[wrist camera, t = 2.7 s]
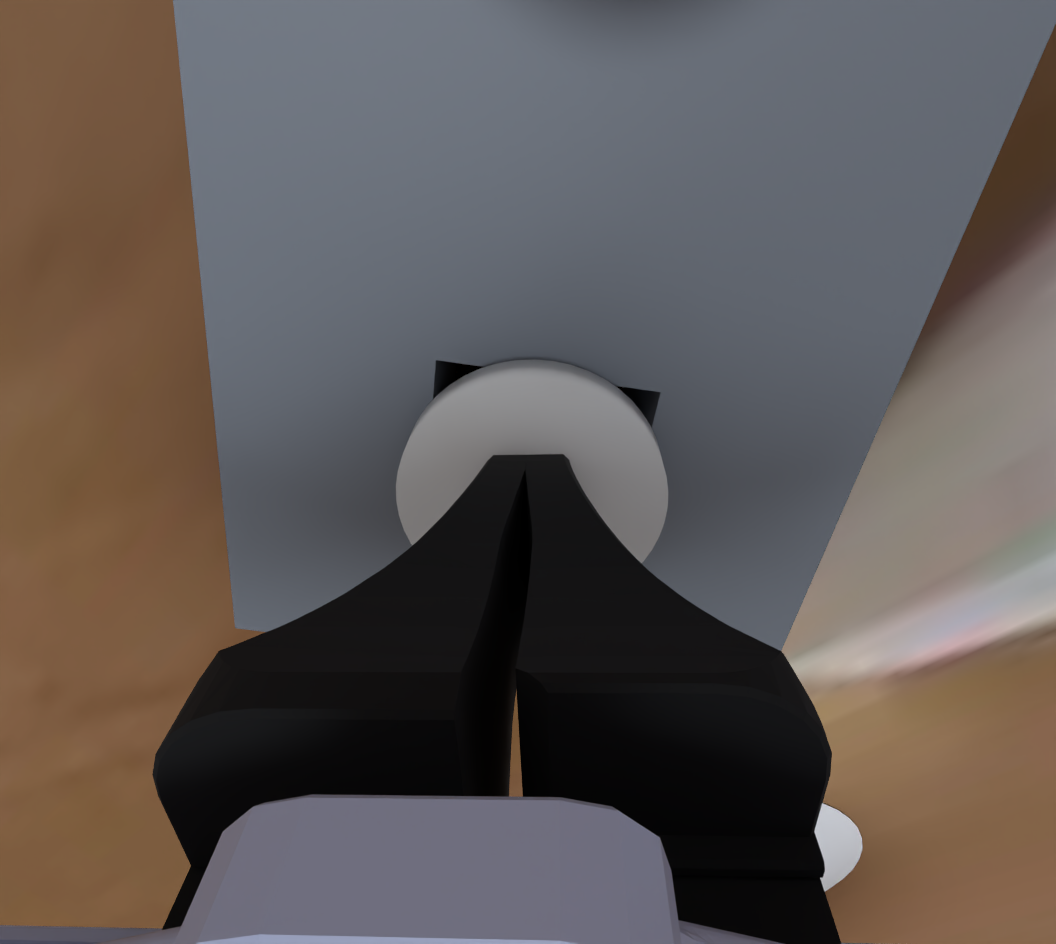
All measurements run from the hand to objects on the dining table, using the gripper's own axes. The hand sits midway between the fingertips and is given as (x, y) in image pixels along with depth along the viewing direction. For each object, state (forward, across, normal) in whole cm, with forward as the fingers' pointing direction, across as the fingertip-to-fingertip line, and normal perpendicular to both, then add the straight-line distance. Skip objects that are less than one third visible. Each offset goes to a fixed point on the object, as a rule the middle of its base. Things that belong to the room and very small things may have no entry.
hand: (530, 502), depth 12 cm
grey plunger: (+4, 0, 0) cm, 4 cm away
